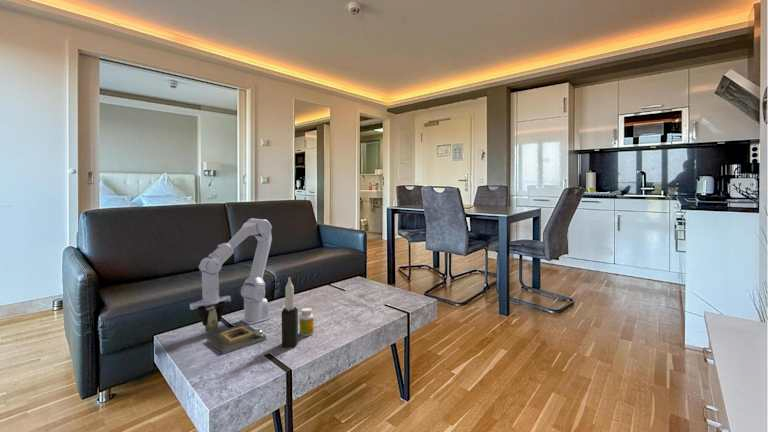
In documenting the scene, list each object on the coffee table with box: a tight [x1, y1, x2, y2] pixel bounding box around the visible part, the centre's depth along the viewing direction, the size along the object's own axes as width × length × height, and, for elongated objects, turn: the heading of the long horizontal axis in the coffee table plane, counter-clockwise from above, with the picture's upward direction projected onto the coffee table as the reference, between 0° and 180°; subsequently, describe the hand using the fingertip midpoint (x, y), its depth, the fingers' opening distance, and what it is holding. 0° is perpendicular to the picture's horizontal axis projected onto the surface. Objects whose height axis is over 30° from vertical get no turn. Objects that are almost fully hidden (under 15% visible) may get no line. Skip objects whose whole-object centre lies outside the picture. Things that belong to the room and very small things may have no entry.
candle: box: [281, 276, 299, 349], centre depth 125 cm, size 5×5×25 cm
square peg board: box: [206, 325, 267, 355], centre depth 128 cm, size 16×14×4 cm
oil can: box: [204, 305, 219, 332], centre depth 134 cm, size 5×5×10 cm
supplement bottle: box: [299, 307, 315, 337], centre depth 136 cm, size 5×5×10 cm
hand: (211, 323), depth 134 cm, fingers closed on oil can, 5 cm apart
